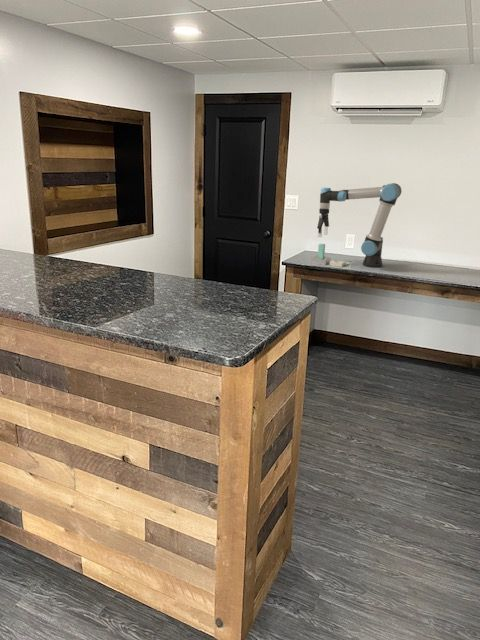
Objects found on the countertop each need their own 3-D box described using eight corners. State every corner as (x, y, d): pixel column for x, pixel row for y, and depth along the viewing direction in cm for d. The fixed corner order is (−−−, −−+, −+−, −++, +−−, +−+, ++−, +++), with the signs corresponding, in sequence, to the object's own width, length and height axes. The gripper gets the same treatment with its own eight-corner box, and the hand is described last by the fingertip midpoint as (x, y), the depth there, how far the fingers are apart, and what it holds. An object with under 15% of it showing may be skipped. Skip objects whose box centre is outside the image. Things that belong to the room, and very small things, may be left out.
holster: (345, 264, 399) (345, 261, 398) (341, 266, 390) (342, 263, 390) (333, 263, 403) (333, 259, 402) (329, 265, 395) (329, 262, 394)
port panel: (330, 262, 405) (330, 256, 404) (325, 265, 395) (325, 259, 394) (316, 260, 411) (316, 255, 409) (310, 263, 401) (311, 257, 399)
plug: (323, 262, 404) (325, 244, 399) (322, 263, 400) (323, 244, 396) (319, 262, 406) (320, 243, 401) (317, 262, 402) (318, 244, 397)
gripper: (325, 206, 401) (323, 233, 408) (314, 209, 381) (312, 237, 387) (334, 207, 398) (332, 234, 405) (323, 210, 377) (321, 238, 384)
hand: (322, 236), depth 396 cm, fingers open, 13 cm apart
